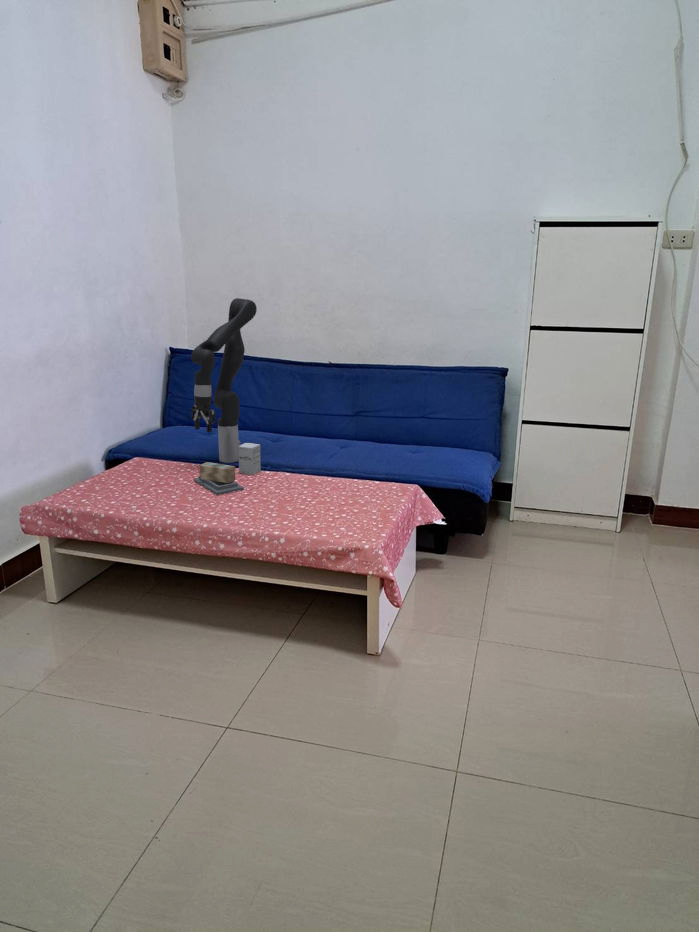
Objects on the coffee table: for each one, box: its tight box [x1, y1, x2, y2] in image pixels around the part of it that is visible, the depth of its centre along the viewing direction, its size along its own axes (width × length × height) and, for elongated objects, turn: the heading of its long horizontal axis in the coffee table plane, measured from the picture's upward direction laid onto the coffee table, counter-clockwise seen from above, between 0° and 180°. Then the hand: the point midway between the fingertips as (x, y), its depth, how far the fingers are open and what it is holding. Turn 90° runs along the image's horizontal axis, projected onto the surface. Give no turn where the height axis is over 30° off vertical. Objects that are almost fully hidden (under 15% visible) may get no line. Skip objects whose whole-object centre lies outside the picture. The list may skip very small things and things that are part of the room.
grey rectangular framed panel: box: [193, 475, 244, 496], centre depth 276 cm, size 22×12×3 cm, turn 37°
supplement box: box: [238, 442, 262, 476], centre depth 293 cm, size 7×7×13 cm
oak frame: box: [199, 461, 236, 483], centre depth 275 cm, size 14×5×6 cm, turn 67°
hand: (203, 430), depth 294 cm, fingers open, 8 cm apart
